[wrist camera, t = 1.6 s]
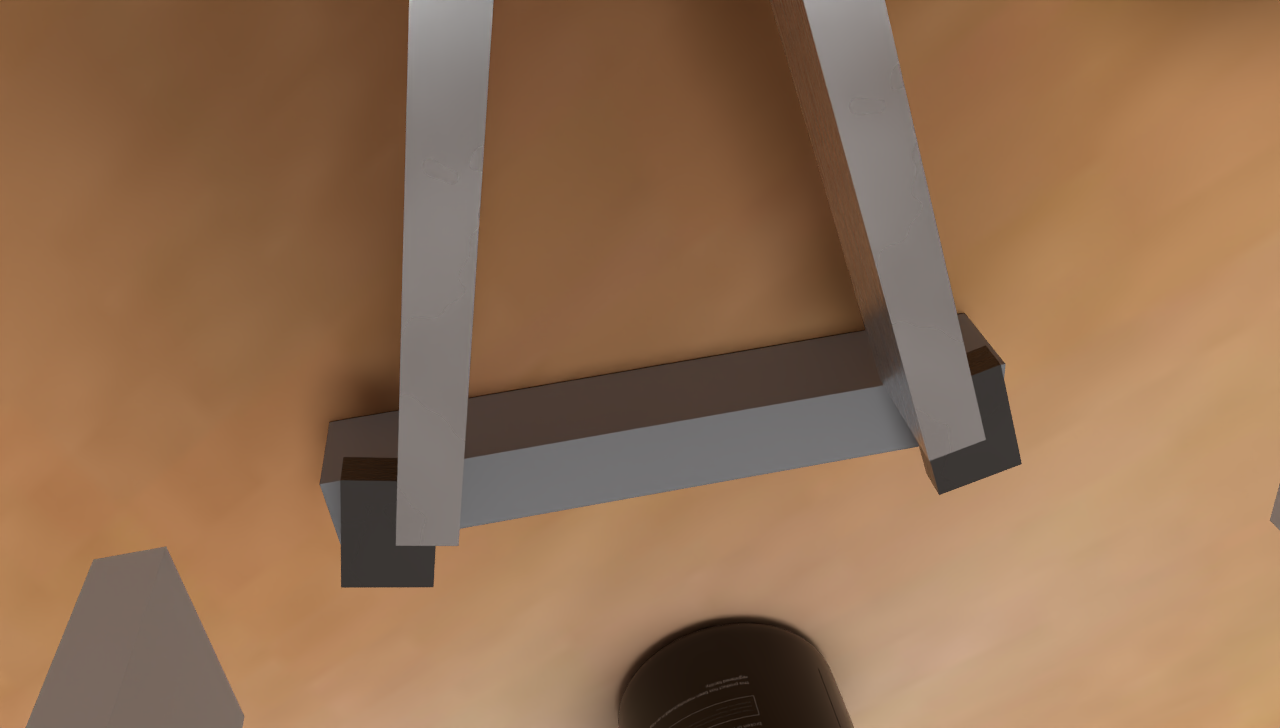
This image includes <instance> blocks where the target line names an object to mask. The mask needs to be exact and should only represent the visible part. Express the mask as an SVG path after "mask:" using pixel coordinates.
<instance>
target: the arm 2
mask: <svg viewBox="0 0 1280 728" xmlns="http://www.w3.org/2000/svg"><path fill="white" fill-rule="evenodd" d="M770 3H771V7H772V10H773V14H774V17H775V21H776V24H777V27H778V31H779V34H780V38H781V41H782V45H783V48H784V51H785V55H786V58H787V62H788V65H789V69H790V72H791V75H792V79H793V82H794V86H795V89H796V93H797V96H798V99H799V103H800V106H801V110H802V113H803V117H804V120H805V124H806V127H807V130H808V134H809V137H810V141H811V144H812V148H813V151H814V154H815V158H816V161H817V165H818V168H819V172H820V175H821V178H822V182H823V185H824V189H825V192H826V196H827V199H828V202H829V206H830V209H831V213H832V216H833V220H834V223H835V226H836V230H837V233H838V237H839V240H840V244H841V247H842V250H843V254H844V257H845V261H846V264H847V268H848V271H849V274H850V278H851V281H852V285H853V288H854V292H855V295H856V298H857V302H858V305H859V309H860V312H861V316H862V319H863V322H864V326H865V329H866V333H867V336H868V340H869V343H870V346H871V350H872V353H873V357H874V360H875V364H876V367H877V370H878V374H879V377H880V380H881V382H882V384H883V385H884V387H885V389H886V390H887V392H888V393H889V395H890V397H891V398H892V400H893V402H894V403H895V405H896V407H897V408H898V410H899V412H900V413H901V415H902V417H903V418H904V420H905V422H906V423H907V425H908V427H909V428H910V430H911V432H912V433H913V435H914V437H915V438H916V440H917V442H918V444H919V448H920V451H921V455H922V459H923V462H924V466H925V469H926V473H927V475H928V477H929V478H930V480H931V482H932V483H933V485H934V487H935V489H936V490H937V492H938V494H939V495H940V494H943V493H946V492H948V491H951V490H954V489H956V488H959V487H962V486H964V485H967V484H970V483H972V482H975V481H978V480H980V479H983V478H986V477H988V476H991V475H994V474H996V473H999V472H1002V471H1004V470H1007V469H1010V468H1012V467H1015V466H1018V465H1020V464H1022V463H1021V459H1020V454H1019V449H1018V444H1017V439H1016V435H1015V430H1014V425H1013V420H1012V415H1011V411H1010V406H1009V401H1008V396H1007V392H1006V387H1005V382H1004V377H1003V372H1002V368H1001V364H1000V363H999V362H998V360H997V359H996V358H995V357H994V355H993V354H992V353H991V351H990V350H989V349H988V348H987V346H986V345H985V346H982V347H980V348H977V349H975V350H972V351H969V352H967V353H966V351H965V347H964V342H963V338H962V334H961V329H960V325H959V321H958V316H957V312H956V308H955V303H954V299H953V295H952V290H951V286H950V282H949V277H948V273H947V269H946V264H945V260H944V256H943V251H942V247H941V242H940V238H939V234H938V229H937V225H936V221H935V216H934V212H933V208H932V203H931V199H930V195H929V190H928V186H927V182H926V177H925V173H924V169H923V164H922V160H921V156H920V151H919V147H918V143H917V138H916V134H915V130H914V125H913V121H912V117H911V112H910V108H909V104H908V99H907V95H906V91H905V86H904V82H903V77H902V73H901V69H900V64H899V60H898V56H897V51H896V47H895V43H894V38H893V34H892V30H891V25H890V21H889V17H888V12H887V8H886V4H885V0H770Z"/></svg>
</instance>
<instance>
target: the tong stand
mask: <svg viewBox="0 0 1280 728" xmlns="http://www.w3.org/2000/svg"><path fill="white" fill-rule="evenodd" d="M957 316H958V321H959V325H960V329H961V334H962V338H963V342H964V347H965V351H966V353H967V352H969V351H972V350H975V349H977V348H980V347H982V346H985V345H986V346H987V348H988V349H989V350H990V351H991V353H992V354H993V355H994V357H995V358H996V359H997V360H998V362H999V363H1000V364H1001V368H1002V372H1003V377H1004V374H1005V363H1004V362H1003V360H1002V359H1001V358H1000V357H999V355H998V354H997V353H996V352H995V350H994V349H993V348H992V347H991V345H990V344H989V343H988V342H987V340H986V339H985V338H984V337H983V335H982V334H981V333H980V332H979V330H978V329H977V328H976V327H975V325H974V324H973V323H972V321H971V320H970V319H969V318H968V316H967V315H966V314H965V313H964V314H958V315H957ZM398 434H399V411H393V412H387V413H381V414H375V415H370V416H364V417H358V418H352V419H346V420H340V421H335V422H329V429H328V435H327V441H326V448H325V454H324V460H323V467H322V473H321V479H320V486H321V489H322V492H323V495H324V498H325V501H326V504H327V507H328V509H329V512H330V515H331V518H332V521H333V524H334V527H335V530H336V532H337V535H338V538H339V541H340V544H341V501H340V479H341V471H342V464H343V457H375V458H398ZM918 446H919V444H918V442H917V440H916V438H915V437H914V435H913V433H912V432H911V430H910V428H909V427H908V425H907V423H906V422H905V420H904V418H903V417H902V415H901V413H900V412H899V410H898V408H897V407H896V405H895V403H894V402H893V400H892V398H891V397H890V395H889V393H888V392H887V390H886V389H885V387H884V385H883V384H882V382H881V380H880V377H879V374H878V370H877V367H876V364H875V360H874V357H873V353H872V350H871V346H870V343H869V340H868V336H867V333H866V330H865V331H859V332H853V333H847V334H841V335H836V336H830V337H824V338H818V339H812V340H806V341H801V342H795V343H789V344H783V345H777V346H772V347H766V348H760V349H754V350H748V351H742V352H737V353H731V354H725V355H719V356H713V357H707V358H702V359H696V360H690V361H684V362H678V363H672V364H667V365H661V366H655V367H649V368H643V369H638V370H632V371H626V372H620V373H614V374H608V375H603V376H597V377H591V378H585V379H579V380H573V381H568V382H562V383H556V384H550V385H544V386H538V387H533V388H527V389H521V390H515V391H509V392H504V393H498V394H492V395H486V396H480V397H474V398H469V399H468V405H467V421H466V437H465V452H464V468H463V483H462V499H461V515H460V529H461V528H466V527H472V526H477V525H483V524H489V523H494V522H500V521H505V520H511V519H516V518H522V517H528V516H533V515H539V514H544V513H550V512H556V511H561V510H567V509H572V508H578V507H583V506H589V505H595V504H600V503H606V502H611V501H617V500H622V499H628V498H634V497H639V496H645V495H650V494H656V493H662V492H667V491H673V490H678V489H684V488H689V487H695V486H701V485H706V484H712V483H717V482H723V481H729V480H734V479H740V478H745V477H751V476H756V475H762V474H768V473H773V472H779V471H784V470H790V469H795V468H801V467H807V466H812V465H818V464H823V463H829V462H835V461H840V460H846V459H851V458H857V457H862V456H868V455H874V454H879V453H885V452H890V451H896V450H901V449H907V448H913V447H918Z"/></svg>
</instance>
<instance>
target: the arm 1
mask: <svg viewBox="0 0 1280 728" xmlns="http://www.w3.org/2000/svg"><path fill="white" fill-rule="evenodd" d="M492 15H493V0H409V30H408V71H407V111H406V152H405V192H404V232H403V273H402V313H401V354H400V394H399V434H398V458H375V457H343V464H342V471H341V479H340V501H341V587H433V584H434V564H435V546H459V530H460V515H461V499H462V483H463V468H464V452H465V437H466V421H467V405H468V390H469V374H470V359H471V343H472V327H473V312H474V296H475V280H476V265H477V249H478V234H479V218H480V202H481V187H482V171H483V156H484V140H485V124H486V109H487V93H488V78H489V62H490V46H491V31H492Z"/></svg>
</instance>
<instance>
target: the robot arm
mask: <svg viewBox="0 0 1280 728" xmlns="http://www.w3.org/2000/svg"><path fill="white" fill-rule="evenodd" d="M1270 521H1271V522H1272V523H1273V524H1274V525H1275V526H1276V527H1277V528H1278V529H1279V530H1280V485H1279V488H1278V492H1277V496H1276V500H1275V503H1274V507H1273V511H1272V514H1271V518H1270ZM243 721H244V714H243V712H242V710H241V708H240V706H239V704H238V701H237V699H236V697H235V695H234V693H233V691H232V688H231V686H230V684H229V682H228V680H227V678H226V675H225V673H224V671H223V669H222V667H221V665H220V662H219V660H218V658H217V656H216V654H215V652H214V649H213V647H212V645H211V643H210V641H209V638H208V636H207V634H206V632H205V630H204V628H203V625H202V623H201V621H200V619H199V617H198V615H197V612H196V610H195V608H194V606H193V604H192V602H191V599H190V597H189V595H188V593H187V591H186V589H185V586H184V584H183V582H182V580H181V578H180V576H179V573H178V571H177V569H176V567H175V565H174V562H173V560H172V558H171V556H170V554H169V552H168V549H167V547H161V548H155V549H150V550H144V551H139V552H133V553H128V554H122V555H117V556H111V557H105V558H100V559H94V560H93V562H92V565H91V567H90V570H89V572H88V575H87V577H86V580H85V582H84V584H83V587H82V589H81V592H80V594H79V597H78V599H77V602H76V604H75V607H74V609H73V612H72V614H71V617H70V619H69V622H68V624H67V627H66V629H65V632H64V634H63V636H62V639H61V641H60V644H59V646H58V649H57V651H56V654H55V656H54V659H53V661H52V664H51V666H50V669H49V671H48V674H47V676H46V679H45V681H44V684H43V686H42V688H41V691H40V693H39V696H38V698H37V701H36V703H35V706H34V708H33V711H32V713H31V716H30V718H29V721H28V723H27V726H26V728H242V726H243Z"/></svg>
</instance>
